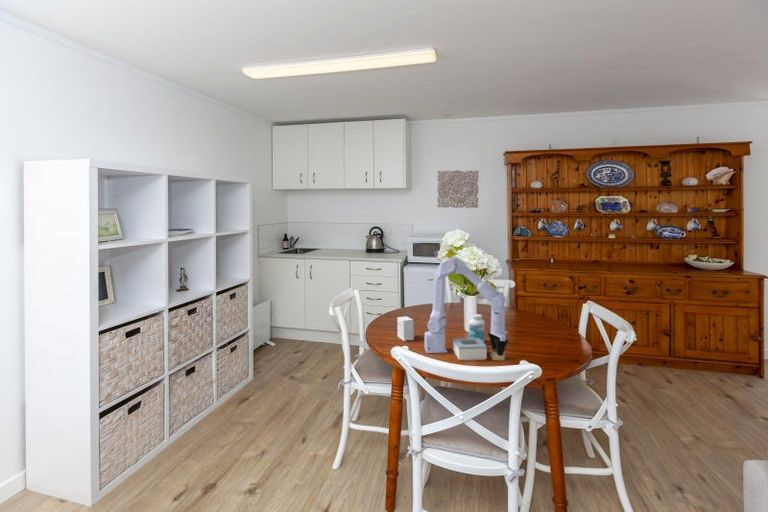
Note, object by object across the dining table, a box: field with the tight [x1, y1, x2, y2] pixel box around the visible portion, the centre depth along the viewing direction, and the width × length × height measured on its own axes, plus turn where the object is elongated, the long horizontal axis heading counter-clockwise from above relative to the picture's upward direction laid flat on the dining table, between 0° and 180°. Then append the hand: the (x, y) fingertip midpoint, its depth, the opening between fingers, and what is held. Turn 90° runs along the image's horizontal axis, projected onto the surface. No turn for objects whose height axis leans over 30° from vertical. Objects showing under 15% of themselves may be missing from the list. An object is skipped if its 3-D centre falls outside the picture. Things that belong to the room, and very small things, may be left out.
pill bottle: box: [468, 313, 486, 344], centre depth 204 cm, size 8×7×14 cm
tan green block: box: [490, 348, 506, 361], centre depth 181 cm, size 5×4×4 cm
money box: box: [452, 337, 488, 361], centre depth 186 cm, size 12×12×6 cm
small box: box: [396, 315, 415, 342], centre depth 211 cm, size 8×6×10 cm
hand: (497, 352), depth 181 cm, fingers open, 7 cm apart
